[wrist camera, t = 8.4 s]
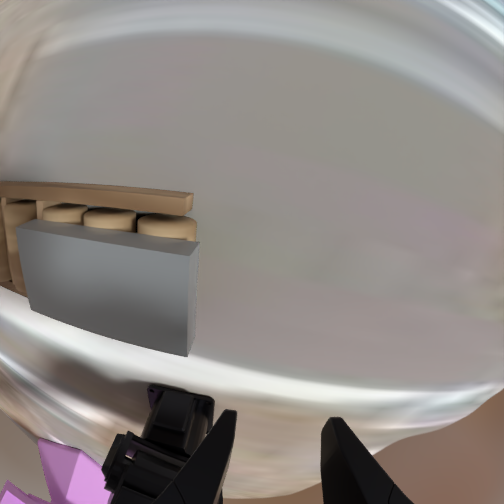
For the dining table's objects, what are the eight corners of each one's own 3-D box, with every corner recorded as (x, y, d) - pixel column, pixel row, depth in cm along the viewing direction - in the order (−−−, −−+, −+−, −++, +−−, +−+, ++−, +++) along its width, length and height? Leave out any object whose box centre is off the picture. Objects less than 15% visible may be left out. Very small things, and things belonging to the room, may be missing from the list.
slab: (195, 336, 16) (187, 357, 14) (46, 297, 16) (31, 309, 14) (199, 242, 14) (189, 256, 12) (35, 218, 14) (15, 227, 12)
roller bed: (195, 329, 20) (183, 359, 17) (8, 276, 20) (-13, 290, 17) (205, 194, 17) (189, 204, 13) (-3, 181, 17) (-28, 188, 13)
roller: (54, 283, 19) (22, 297, 16) (40, 270, 20) (11, 282, 17) (45, 202, 16) (8, 211, 13) (32, 197, 18) (-1, 205, 15)
